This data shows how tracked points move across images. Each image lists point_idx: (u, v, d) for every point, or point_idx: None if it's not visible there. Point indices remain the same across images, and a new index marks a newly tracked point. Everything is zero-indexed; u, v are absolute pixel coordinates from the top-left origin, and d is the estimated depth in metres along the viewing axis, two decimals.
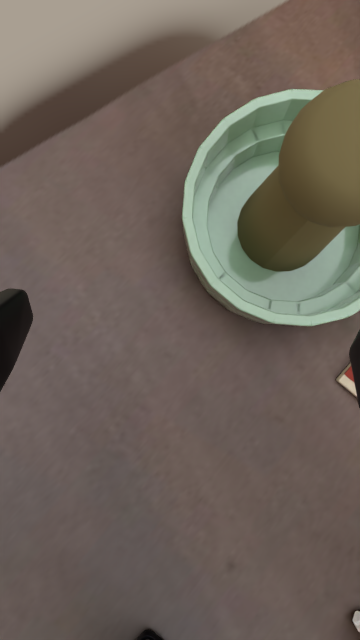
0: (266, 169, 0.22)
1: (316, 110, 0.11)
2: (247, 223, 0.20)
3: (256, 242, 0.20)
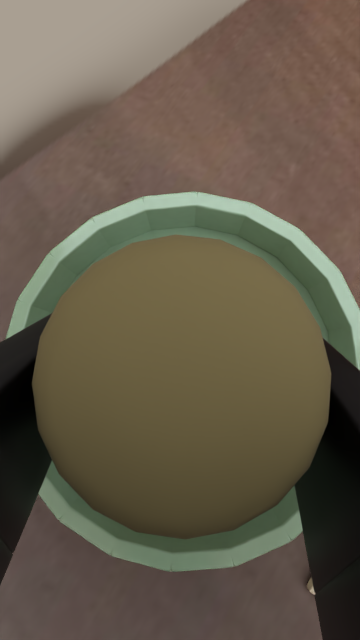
0: None
1: (56, 330, 0.05)
2: None
3: None
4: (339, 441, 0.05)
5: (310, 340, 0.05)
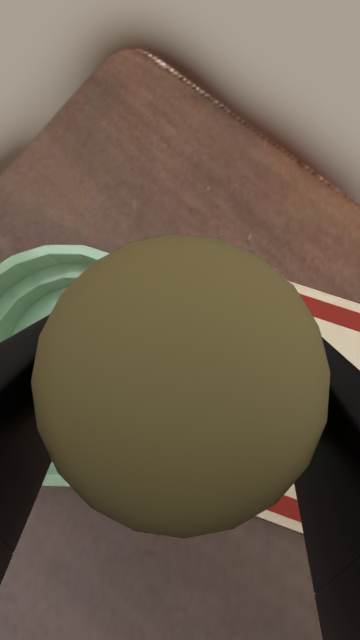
0: (48, 310, 0.22)
1: (55, 329, 0.05)
2: None
3: None
4: (339, 441, 0.05)
5: (309, 339, 0.05)
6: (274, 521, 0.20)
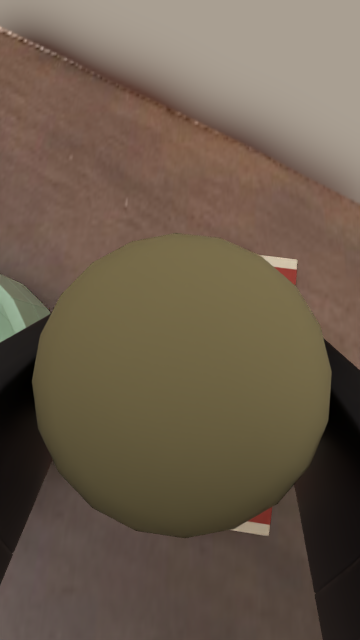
0: None
1: (56, 329, 0.05)
2: None
3: None
4: (339, 441, 0.05)
5: (310, 339, 0.05)
6: None
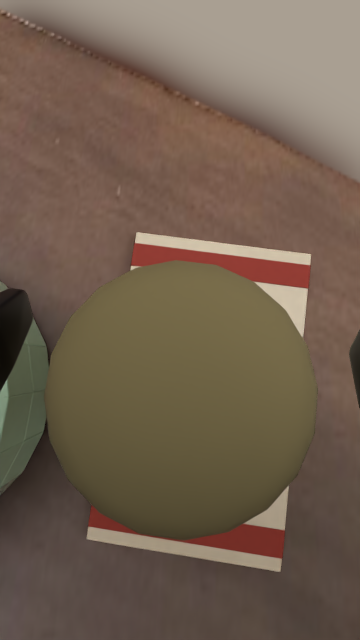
0: None
1: (67, 351, 0.05)
2: None
3: None
4: None
5: (297, 360, 0.05)
6: (204, 557, 0.15)
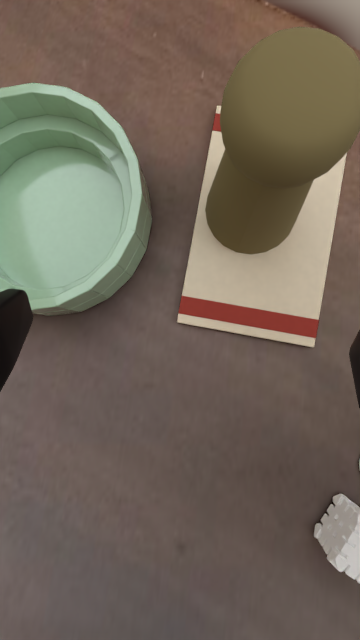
0: (17, 179, 0.23)
1: (245, 65, 0.11)
2: (212, 207, 0.19)
3: (223, 225, 0.19)
4: None
5: None
6: (260, 336, 0.21)
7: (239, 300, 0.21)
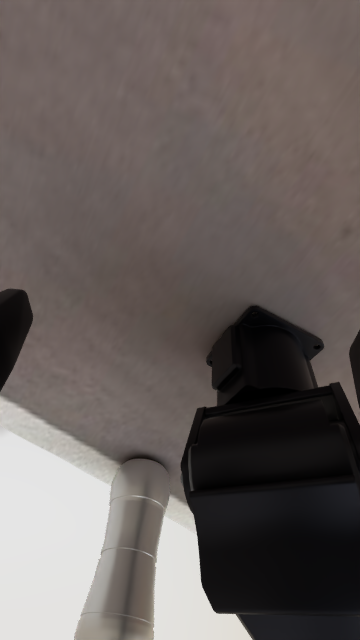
0: None
1: None
2: None
3: None
4: None
5: None
6: None
7: None
